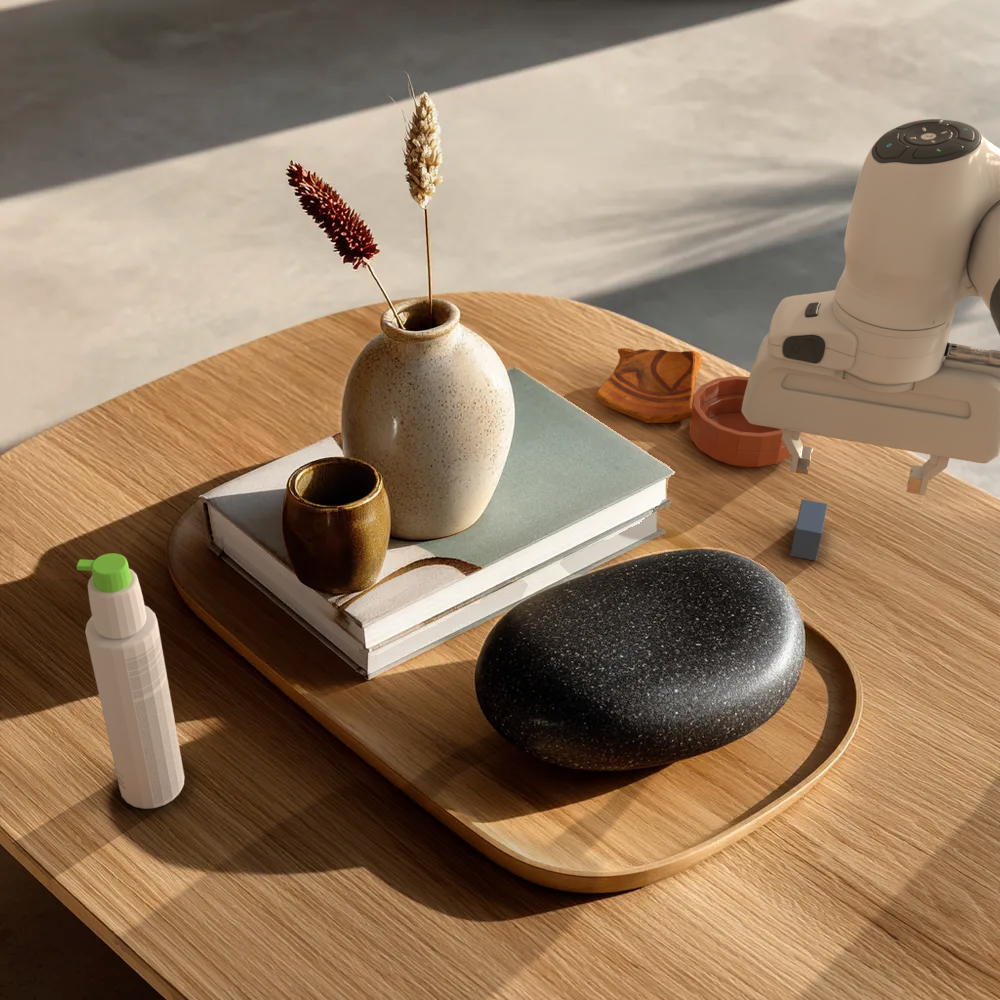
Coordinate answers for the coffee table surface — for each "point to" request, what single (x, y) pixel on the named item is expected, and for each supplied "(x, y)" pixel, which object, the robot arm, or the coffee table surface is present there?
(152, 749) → the bottle
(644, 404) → the pottery fragment
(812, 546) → the eraser
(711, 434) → the bowl
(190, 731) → the coffee table surface
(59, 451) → the coffee table surface
